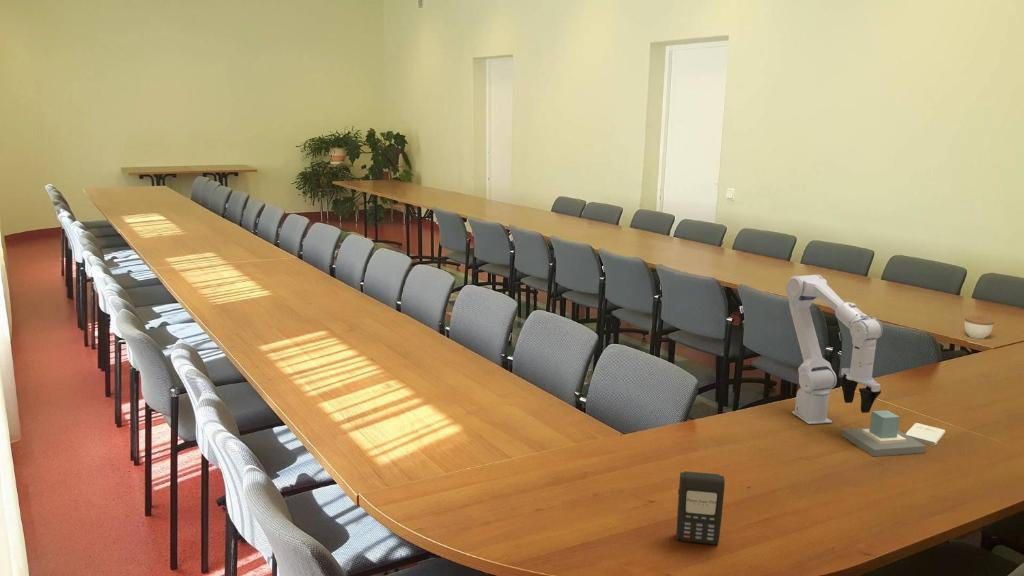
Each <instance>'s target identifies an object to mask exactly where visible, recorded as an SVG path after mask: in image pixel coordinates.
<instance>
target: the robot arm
mask: <svg viewBox="0 0 1024 576" xmlns="http://www.w3.org/2000/svg"><path fill="white" fill-rule="evenodd" d="M785 291H786V295H787V298H788V306H789V311H790V314H791V317H792V318H791V319H792V321H793V326H794V328H795V329H794V330H795V333H796V336H797V337H796V338H797V340H798V344H799V349H800V352H801V357H802V360H803V362H802V363H801V364H800V366H798V369H797V370H798V371H797V372H798V384H799V386H800V387H799V389H798V390H797V391H796V397H795V406H794V407H795V408H794V410H792V412H791V413H792V414H793V415H795V416H796V417H798V418H799V419H801V420H802V421H804V422H805V423H806V424H808V425H817V424H831V423H833V420H831V419H830V418H828V417H827V414H828V406H829V397H830V393H832V389H834V387H836V385H837V383H838V382H837V381H839V384H840V386H841V389H842V394H843V395H842V396H843V401H844V403H845V404H851V403H853V401H854V398H855V395H856V394H855V393H856V389H857V387H858V385H859V384H860V385H862V386H863V387H861V388H860V387H859V388H858V391H859V395H860V411H861V412H860V413H863V414H864V413H865V414H866V413H867V414H868V413H870V411H871V408H872V407H873V404H874V402H875V401H876V399H877V398H878V397H879V395H881V393H882V391H881V384H880V383H878V382H877V381H876V380H875V379H874V377H873V371H874V362H875V355H876V348H877V340H878V339H879V338H881V336H882V335H883V333H884V332H883V330H884V329H883V325H882V323H881V322H880V320H879V318H878V319H877V318H876V317H872V318H871V317H870V316H868V315H867V314H866V313H864V312H862V310H861V309H859V308H858V307H857V304H856V303H854V302H850V301H847V302H845V301H844V300H843V299H842V298H841V297H840V296H839V295H838V294H837V293H836V292H835V291H834V290H833V289H832V288H831V287H830V286H829V285H828V280H827V279H825V278H823V276H822V275H821V274H817V273H816V274H807V275H792V276H791V277H790V278H788V281H787V283H786V284H785ZM817 299H819V300H821V301H822V303H825V304H826V305H827V306H828V307H830V308H831V310H834V311H835V312H834V314H835V317H836V319H838V320H839V321H840V322H841V323H842V324H843V325H844V326H845V327H847V329H849V333H850V336H851V343H852V351H851V360H850V366H849V367H850V368H848V367H844V368H841V372H840V373H841V377H838V379H837V374H836V372H835V371H834V370H833V368H832V365H831V363H830V362H829V361H828V360H826V359H825V358H824V357H823V355H822V351H821V348H820V347H821V346H820V344H819V341H818V339H819V338H818V335H817V331H816V329H815V325H814V322H813V321H814V320H813V317H812V313H811V310H810V307H811V306H812V304H813V303H815V301H816V300H817Z"/></svg>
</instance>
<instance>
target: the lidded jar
mask: <svg viewBox="0 0 1024 576" xmlns="http://www.w3.org/2000/svg"><path fill="white" fill-rule="evenodd" d="M994 323H995V321H994V320H993V319H991V318H988V317H985V316H984V317H983V316H982V315H981V314H979V315H978V316H977V315H976V316H975V315H974V316H973V315H969V316H965V317H964V331H965V332H966V334H967V336H969V337H970V338H972V339H979V340H980V339H986V337H988V336H990V334H991V333H992V331H993V327H994Z"/></svg>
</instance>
